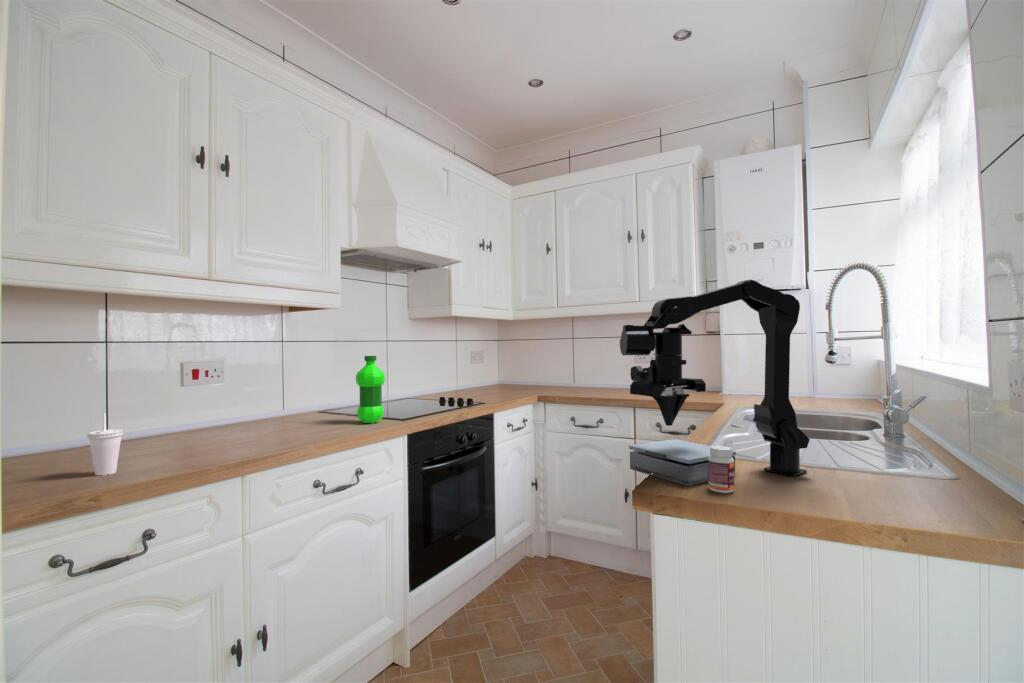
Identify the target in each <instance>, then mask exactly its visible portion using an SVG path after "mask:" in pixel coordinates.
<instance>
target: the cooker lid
mask: <svg viewBox="0 0 1024 683" xmlns="http://www.w3.org/2000/svg"><path fill="white" fill-rule="evenodd" d="M711 446H712V445H707V444H706V445H705V444H700V443H696V442H691V441H685V440H682V439H676V438H674V439H667V440H659V441H658V440H657V441H652V442H646V443H639V444H630V445H628V448H629V450H631V451H639V452H643V453H645V454H646V455H650V456H654V457H658V458H662V459H665V458H667V459H671V460H675V461H679V462H683V463H687V464H692V463H697V462H702V461H707V460H708V457H709V456H711V454H710V447H711ZM736 455H737V451H735V450H732V456H736Z"/></svg>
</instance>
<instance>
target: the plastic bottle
mask: <svg viewBox="0 0 1024 683" xmlns="http://www.w3.org/2000/svg"><path fill="white" fill-rule="evenodd" d="M363 358H364V361H365V365H364V366H363V367H362V368H361V369H360V370H358V371H357V372H356V375H355V383H356V384H357V386H358V387H359V406H358V408H357V411H356V415H357V417H358V420H360V421H361V422H364V423H374V424H376V423H375V422H378V423H379V422H380V421H381V420H382V419H383V418H384V416H385V408H384V407H383V405H382V402H383V401H382V399H383V398H382V396H383V395H382V394H383V393H382V387H383V385H384V384H385V383H386V382H385V381H386V374H385V373H384V371H382V370H381V369H380V367H378V366H377V364H376V361H377V355H364V357H363ZM364 423H363V424H364Z"/></svg>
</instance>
